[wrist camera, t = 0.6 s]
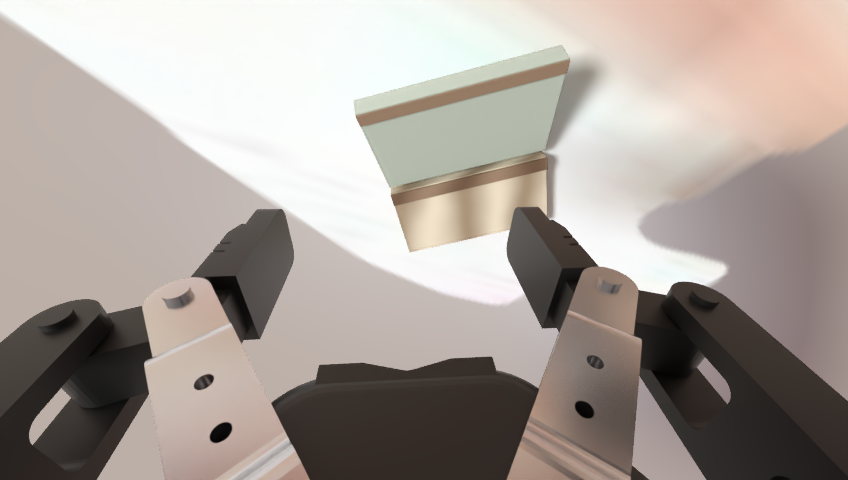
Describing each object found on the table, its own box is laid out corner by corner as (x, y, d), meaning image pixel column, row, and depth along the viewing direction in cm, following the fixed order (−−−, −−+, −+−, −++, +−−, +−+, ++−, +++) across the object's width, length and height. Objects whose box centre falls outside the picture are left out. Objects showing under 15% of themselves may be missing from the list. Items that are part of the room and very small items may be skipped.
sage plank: (562, 44, 23) (570, 59, 22) (540, 138, 32) (545, 150, 31) (353, 100, 24) (355, 116, 24) (388, 175, 33) (389, 188, 32)
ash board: (540, 151, 33) (547, 157, 31) (542, 214, 37) (547, 222, 36) (391, 187, 34) (390, 195, 33) (409, 244, 39) (409, 253, 37)
